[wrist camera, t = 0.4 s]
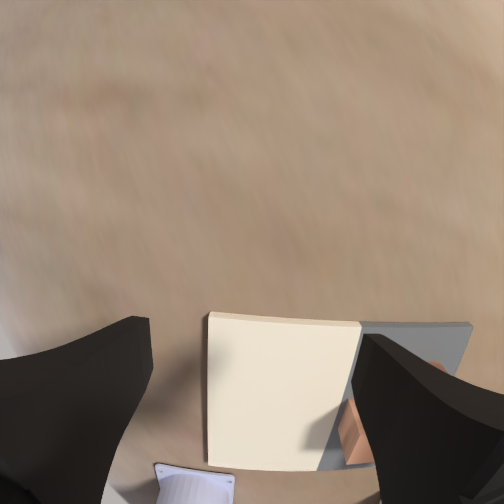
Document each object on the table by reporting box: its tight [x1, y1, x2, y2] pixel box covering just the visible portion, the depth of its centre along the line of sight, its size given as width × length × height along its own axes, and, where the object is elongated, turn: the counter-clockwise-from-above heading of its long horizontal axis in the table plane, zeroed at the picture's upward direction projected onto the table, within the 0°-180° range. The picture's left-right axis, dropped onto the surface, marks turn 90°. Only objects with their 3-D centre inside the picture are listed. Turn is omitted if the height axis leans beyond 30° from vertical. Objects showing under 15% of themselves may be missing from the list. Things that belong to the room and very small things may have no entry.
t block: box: [338, 361, 448, 465], centre depth 20 cm, size 7×10×4 cm
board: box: [208, 311, 474, 471], centre depth 22 cm, size 16×20×1 cm
